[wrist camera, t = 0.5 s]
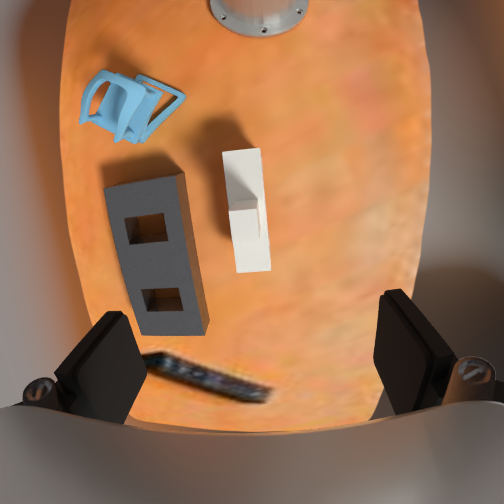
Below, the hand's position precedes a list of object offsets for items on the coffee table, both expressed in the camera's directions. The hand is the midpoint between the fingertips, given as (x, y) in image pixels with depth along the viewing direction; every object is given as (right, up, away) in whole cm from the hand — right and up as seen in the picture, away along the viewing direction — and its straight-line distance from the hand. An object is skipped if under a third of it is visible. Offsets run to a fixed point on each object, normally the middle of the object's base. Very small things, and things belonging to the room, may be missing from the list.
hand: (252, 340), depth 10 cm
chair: (-14, +21, +24) cm, 35 cm away
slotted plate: (-12, +3, +31) cm, 33 cm away
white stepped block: (0, +9, +27) cm, 29 cm away
